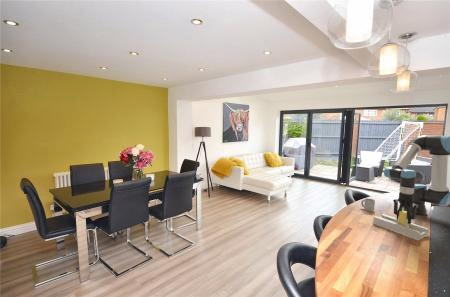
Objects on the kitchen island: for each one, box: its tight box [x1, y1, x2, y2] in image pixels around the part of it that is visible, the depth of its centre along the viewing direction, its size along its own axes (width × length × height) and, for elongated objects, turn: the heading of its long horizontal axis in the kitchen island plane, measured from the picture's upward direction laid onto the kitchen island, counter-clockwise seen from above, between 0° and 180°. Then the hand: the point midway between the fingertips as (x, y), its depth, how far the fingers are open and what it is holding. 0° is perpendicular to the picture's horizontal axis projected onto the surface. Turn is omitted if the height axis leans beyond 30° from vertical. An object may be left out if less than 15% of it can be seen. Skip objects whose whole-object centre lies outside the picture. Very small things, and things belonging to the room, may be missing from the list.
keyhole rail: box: [372, 213, 430, 241], centre depth 153 cm, size 14×27×5 cm, turn 27°
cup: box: [360, 198, 376, 213], centre depth 189 cm, size 7×10×9 cm
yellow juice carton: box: [398, 209, 408, 227], centre depth 151 cm, size 7×4×12 cm, turn 118°
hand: (403, 226), depth 151 cm, fingers closed on yellow juice carton, 4 cm apart
